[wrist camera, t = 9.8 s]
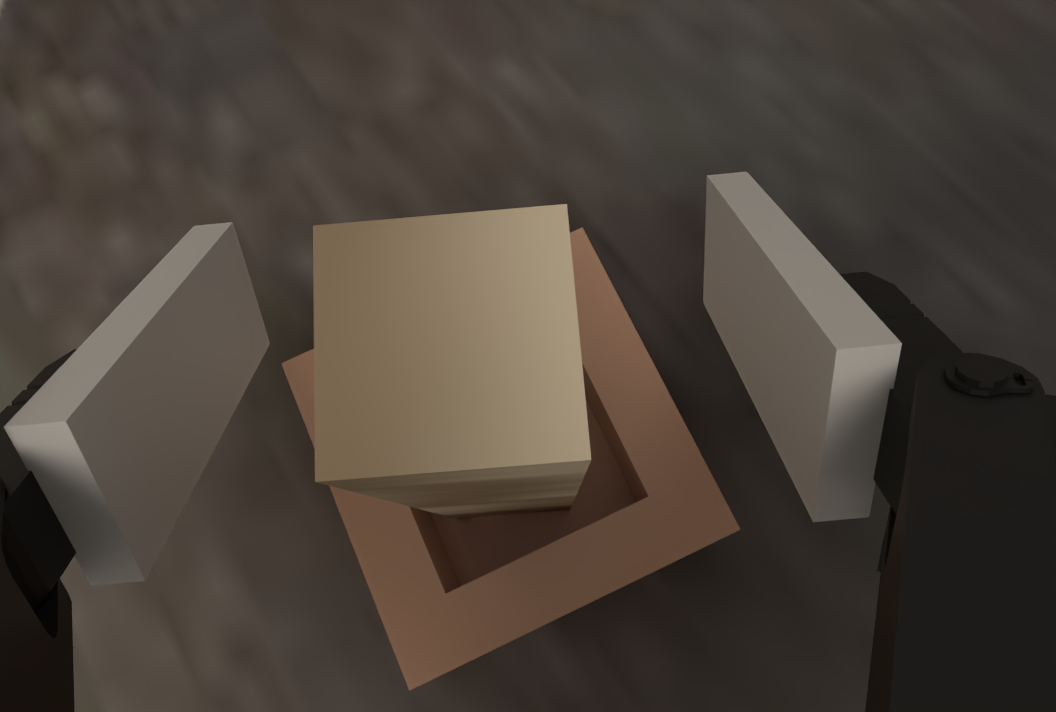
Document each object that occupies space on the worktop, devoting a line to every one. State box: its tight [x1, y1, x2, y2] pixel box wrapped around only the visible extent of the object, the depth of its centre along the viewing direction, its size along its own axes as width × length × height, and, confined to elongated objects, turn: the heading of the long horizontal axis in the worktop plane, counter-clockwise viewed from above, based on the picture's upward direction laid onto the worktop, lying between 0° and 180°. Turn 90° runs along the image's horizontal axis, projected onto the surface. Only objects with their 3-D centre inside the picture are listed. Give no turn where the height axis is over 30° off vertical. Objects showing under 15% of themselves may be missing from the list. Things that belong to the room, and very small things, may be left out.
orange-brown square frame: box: [281, 227, 741, 691], centre depth 19 cm, size 8×8×4 cm
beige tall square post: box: [313, 204, 591, 519], centre depth 14 cm, size 3×3×12 cm
